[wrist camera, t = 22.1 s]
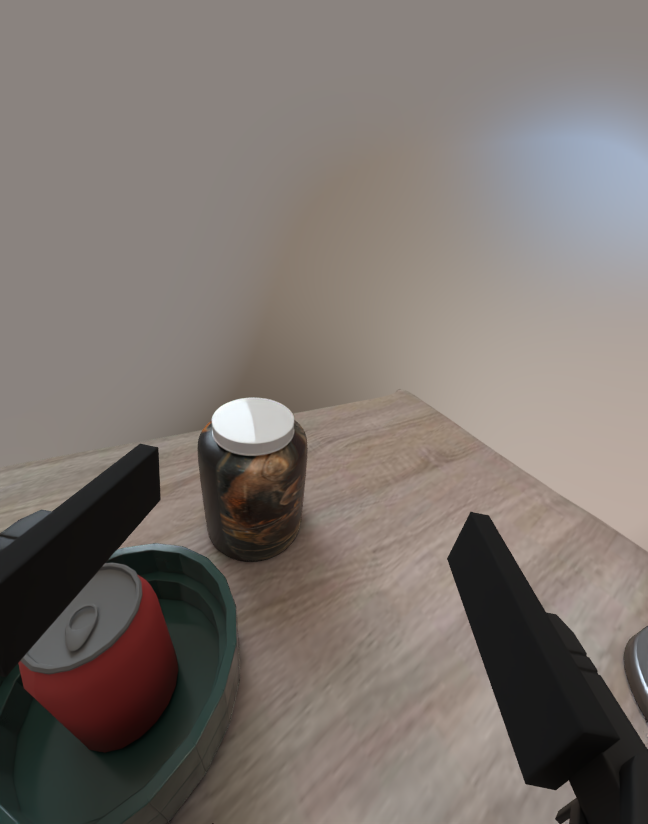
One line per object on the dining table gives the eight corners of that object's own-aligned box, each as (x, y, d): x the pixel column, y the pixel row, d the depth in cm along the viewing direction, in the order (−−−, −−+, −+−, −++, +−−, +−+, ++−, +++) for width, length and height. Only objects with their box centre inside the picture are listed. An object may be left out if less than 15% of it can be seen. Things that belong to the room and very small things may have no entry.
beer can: (64, 776, 19) (-30, 713, 13) (90, 657, 24) (32, 570, 18) (178, 728, 21) (145, 654, 15) (180, 628, 27) (156, 543, 20)
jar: (183, 527, 36) (162, 421, 28) (251, 472, 45) (249, 381, 37) (261, 582, 31) (261, 475, 24) (319, 509, 40) (332, 414, 33)
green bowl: (279, 679, 25) (283, 640, 21) (27, 1012, 14) (-56, 1049, 10) (177, 557, 33) (167, 513, 29) (-36, 707, 22) (-95, 666, 18)
